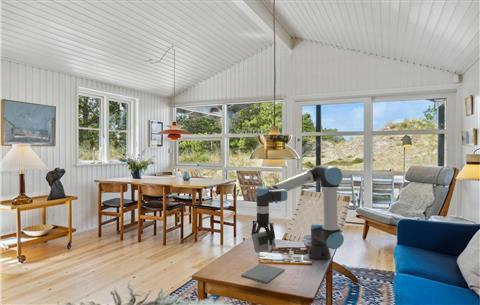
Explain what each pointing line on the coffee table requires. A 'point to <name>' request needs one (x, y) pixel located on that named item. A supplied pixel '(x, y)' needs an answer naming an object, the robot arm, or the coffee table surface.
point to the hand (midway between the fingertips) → (263, 248)
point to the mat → (263, 273)
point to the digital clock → (261, 242)
